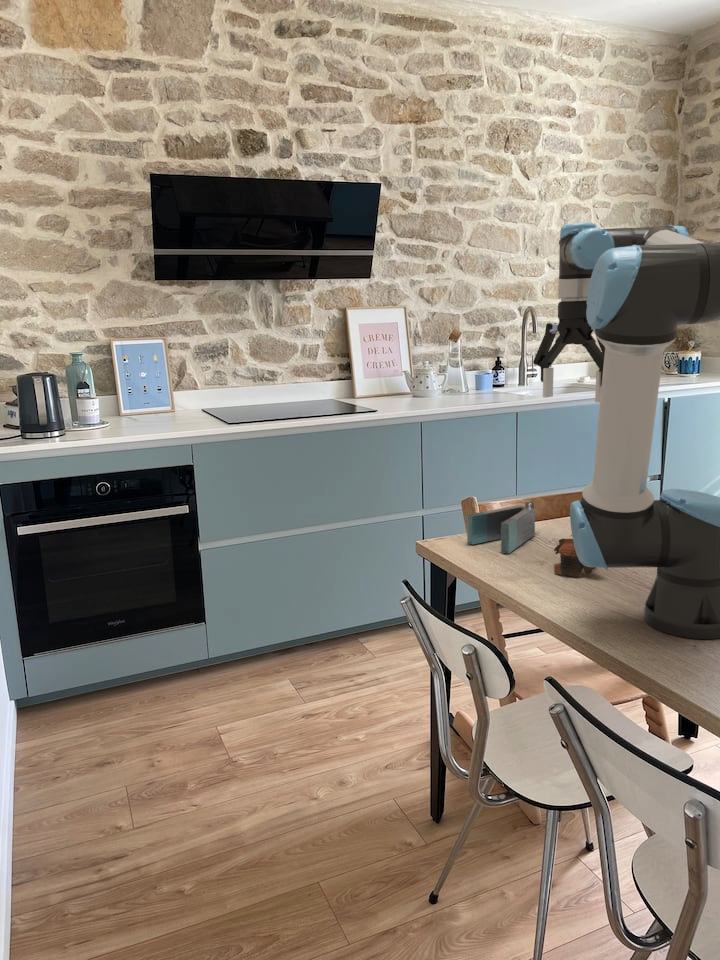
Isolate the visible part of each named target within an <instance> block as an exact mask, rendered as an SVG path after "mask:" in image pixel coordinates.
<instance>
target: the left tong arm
mask: <svg viewBox="0 0 720 960" xmlns="http://www.w3.org/2000/svg"><path fill="white" fill-rule="evenodd" d="M524 509H525V505H521V504H518V505H517V504H516V505H514V506H513V505H512V506H508V507H507V506H506V507H501V508H496V509H490V510H484V511H481V512H480V511H479V512H476V513H469V514H467V515H466V516H467V517H466V521H467V524H466V527H467V530H466V535H467V536H466V537H467V538H466V539H467V540H466V541H467V544H469V545H471V546H473V545H477V544H481V543H485V542H486V543H487V542H491V541H496V540H501V523H503V522H504V521H506V520H508V519H509V518H511V517H513V516H514V515H516V514H518V513H519V512H521V511H523V510H524Z"/></svg>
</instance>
